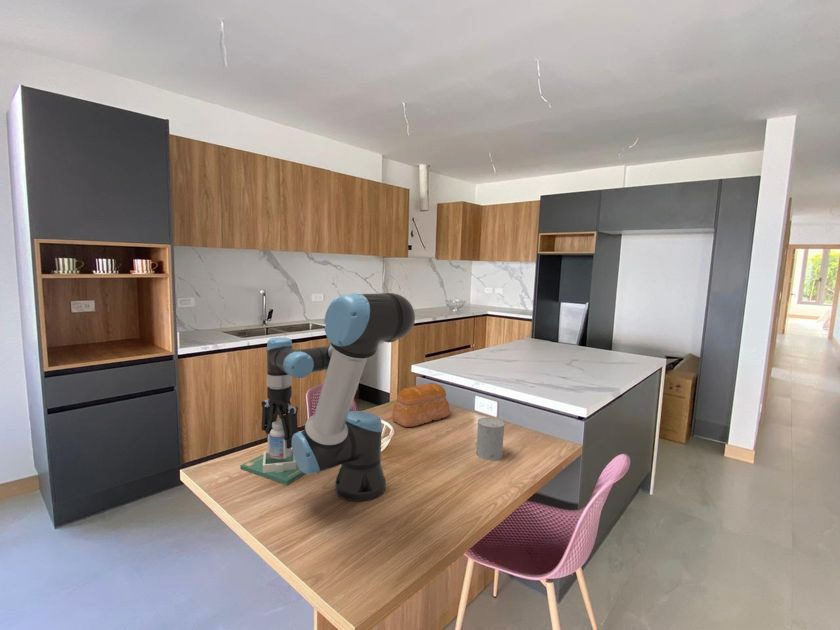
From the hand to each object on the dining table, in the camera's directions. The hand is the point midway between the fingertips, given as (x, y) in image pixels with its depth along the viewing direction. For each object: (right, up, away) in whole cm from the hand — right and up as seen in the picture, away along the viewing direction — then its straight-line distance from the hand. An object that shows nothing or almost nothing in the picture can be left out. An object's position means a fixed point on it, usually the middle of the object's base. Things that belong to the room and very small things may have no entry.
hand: (279, 454), depth 139 cm
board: (0, -4, 0) cm, 5 cm away
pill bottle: (0, -1, 0) cm, 1 cm away
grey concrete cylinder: (+71, -6, +16) cm, 73 cm away
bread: (+47, -1, +49) cm, 68 cm away
